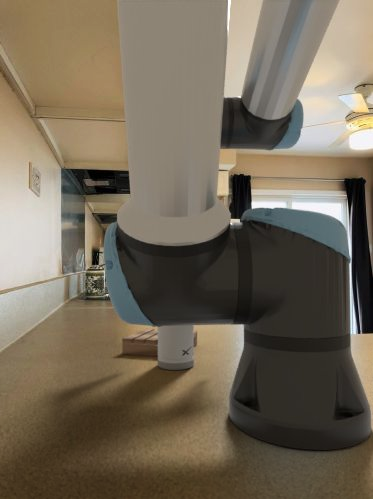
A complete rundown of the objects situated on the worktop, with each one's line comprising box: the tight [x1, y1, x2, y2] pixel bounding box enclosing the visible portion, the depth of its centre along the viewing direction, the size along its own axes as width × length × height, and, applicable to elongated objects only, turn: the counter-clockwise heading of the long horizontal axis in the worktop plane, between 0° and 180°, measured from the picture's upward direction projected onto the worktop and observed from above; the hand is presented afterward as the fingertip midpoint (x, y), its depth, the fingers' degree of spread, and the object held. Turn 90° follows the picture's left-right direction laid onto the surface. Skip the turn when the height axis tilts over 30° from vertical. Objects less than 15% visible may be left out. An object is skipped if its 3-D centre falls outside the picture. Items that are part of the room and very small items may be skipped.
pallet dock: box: [121, 328, 198, 357], centre depth 76 cm, size 12×12×3 cm
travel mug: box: [157, 325, 195, 371], centre depth 64 cm, size 6×7×20 cm
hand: (176, 319), depth 64 cm, fingers open, 13 cm apart
